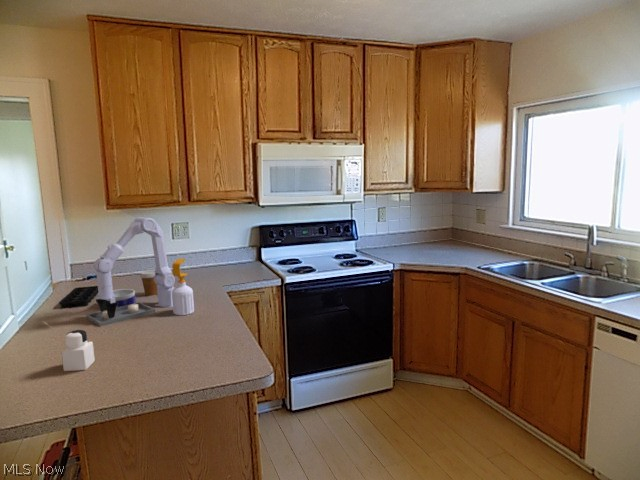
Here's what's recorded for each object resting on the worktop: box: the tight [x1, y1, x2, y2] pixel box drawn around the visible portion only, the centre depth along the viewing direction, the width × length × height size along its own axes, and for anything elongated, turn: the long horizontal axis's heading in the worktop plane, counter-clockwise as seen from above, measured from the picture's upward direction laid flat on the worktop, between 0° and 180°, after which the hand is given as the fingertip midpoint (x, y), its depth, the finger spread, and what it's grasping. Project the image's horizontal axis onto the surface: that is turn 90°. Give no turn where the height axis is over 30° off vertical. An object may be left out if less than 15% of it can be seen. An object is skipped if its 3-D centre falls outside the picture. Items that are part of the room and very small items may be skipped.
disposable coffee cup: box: [140, 269, 158, 297], centre depth 230 cm, size 10×10×12 cm
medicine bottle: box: [61, 329, 96, 372], centre depth 146 cm, size 7×7×12 cm
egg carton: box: [59, 285, 98, 309], centre depth 225 cm, size 18×30×4 cm, turn 27°
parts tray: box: [85, 301, 156, 327], centre depth 197 cm, size 24×16×2 cm, turn 136°
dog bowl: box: [113, 288, 136, 308], centre depth 215 cm, size 15×15×6 cm
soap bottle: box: [171, 258, 195, 316], centre depth 199 cm, size 9×9×25 cm
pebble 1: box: [102, 310, 114, 320], centre depth 193 cm, size 4×4×3 cm
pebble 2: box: [128, 304, 139, 314], centre depth 201 cm, size 4×4×3 cm
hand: (108, 315), depth 193 cm, fingers open, 7 cm apart
